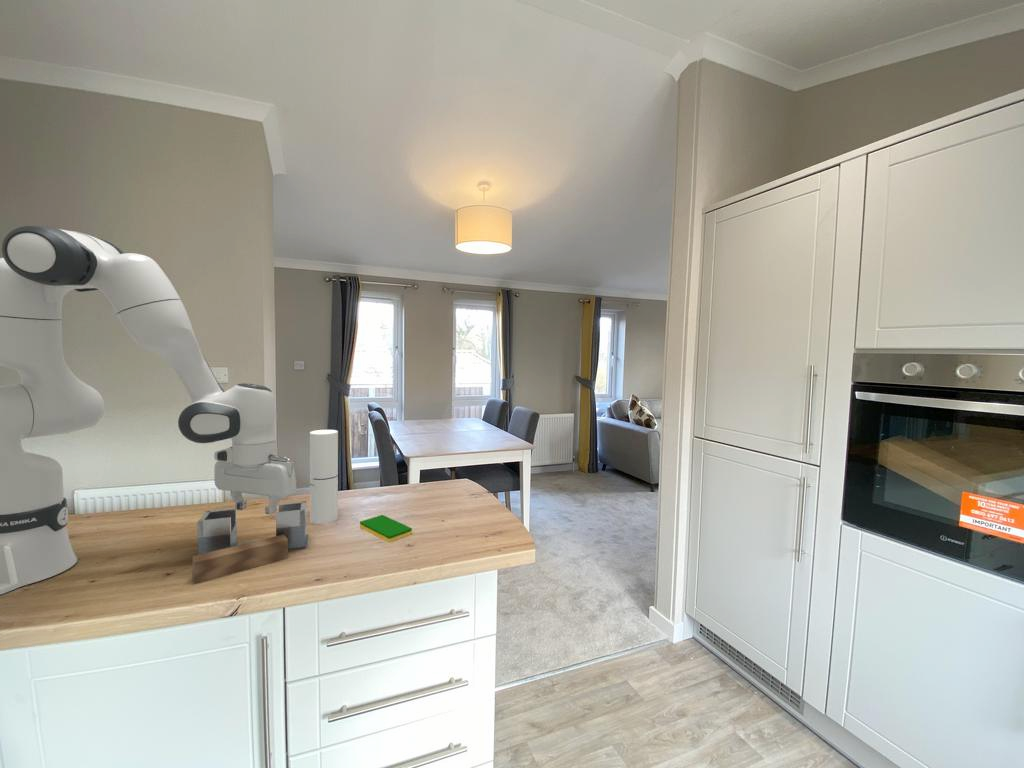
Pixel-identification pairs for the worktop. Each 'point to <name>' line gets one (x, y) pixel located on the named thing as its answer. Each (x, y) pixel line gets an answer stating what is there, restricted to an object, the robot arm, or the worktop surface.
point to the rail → (239, 558)
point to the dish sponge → (385, 528)
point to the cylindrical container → (323, 476)
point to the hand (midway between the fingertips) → (255, 511)
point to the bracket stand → (222, 533)
